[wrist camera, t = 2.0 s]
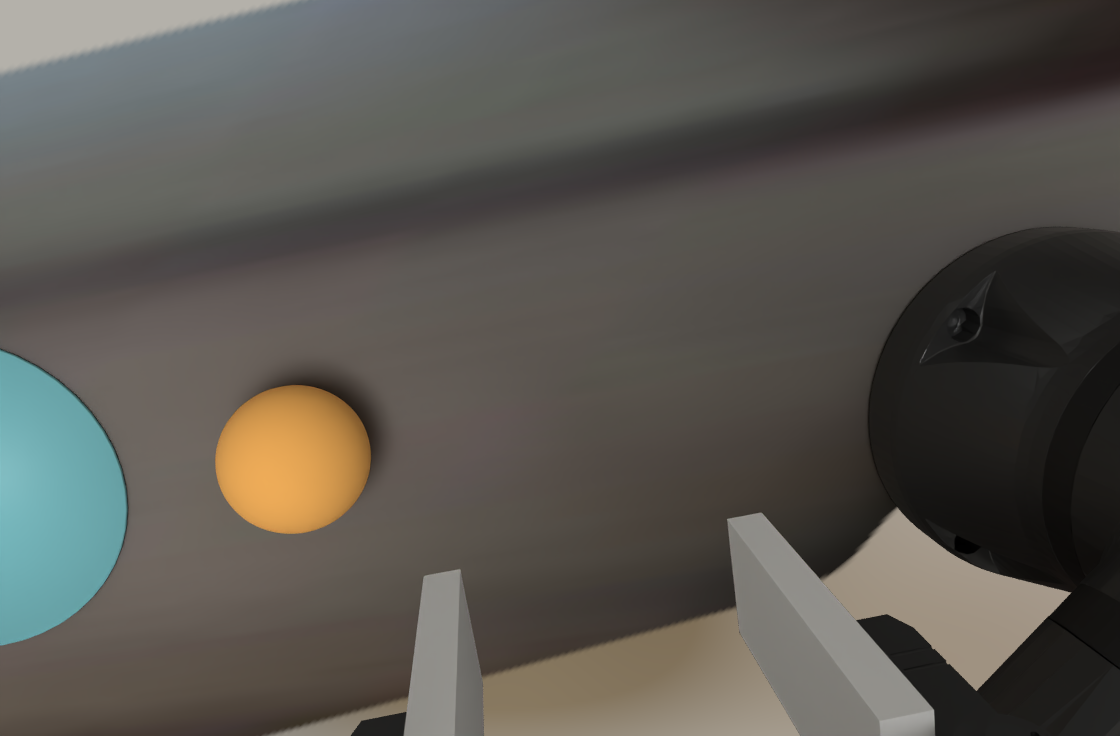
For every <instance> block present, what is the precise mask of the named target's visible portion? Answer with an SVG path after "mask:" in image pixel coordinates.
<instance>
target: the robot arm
mask: <svg viewBox="0 0 1120 736" xmlns="http://www.w3.org/2000/svg"><path fill="white" fill-rule="evenodd" d="M869 430H870V440H871V446H872V452H873V456H874V460H875V464H876V467H877V470H878V473H879V475H880V478H881V480H882V482H883V484H884V487H885V488H886V490H887V492H888V494H889V496H890V497H891V499H892V500H893V502H894V503H895V505H896V506H897V507H898V508H899V510H900V511H901V512H902V513H903V514H904V515H905V516H906V517H907V519H909V521H910V522H912V523H913V524H914V525H915V526H916V527H917V528H918V529H920V530H921V531H922V532H924V533H925V534H926V535H928V536H929V537H930V538H931V539H933V540H934V541H935V542H937V543H938V544H939V545H941V546H942V547H943V548H945V549H946V550H947V551H949V552H950V553H952V554H953V555H955V556H957V557H958V558H960V559H962V560H964V561H966V562H968V563H970V564H972V565H974V566H976V567H979V568H981V569H984V570H987V571H990V572H993V573H996V574H1000V575H1004V576H1008V577H1012V578H1016V579H1020V580H1024V581H1028V582H1032V583H1036V584H1040V585H1044V586H1047V587H1051V588H1055V589H1060V590H1064V591H1068V592H1071V594H1070V595H1069V596H1068V597H1067V598H1066V599H1065V600H1064V602H1062V603H1061V604H1060V606H1059V607H1058V608H1057V609H1056V610H1055V611H1054V612H1053V613H1052V614H1051V615H1050V616H1048V617H1047V618H1046V619H1045V620H1044V622H1042V624H1041V625H1040V626H1039V627H1038V628H1037V629H1036V630H1035V631H1034V632H1033V633H1032V634H1031V635H1030V636H1029V637H1028V638H1027V639H1026V640H1025V641H1024V642H1023V643H1022V644H1021V645H1020V646H1019V647H1018V648H1017V650H1016V651H1015V652H1014V653H1013V654H1012V655H1011V656H1010V657H1009V658H1008V659H1007V660H1006V661H1005V662H1004V663H1003V664H1002V665H1001V666H1000V667H999V668H998V669H997V670H996V671H995V672H994V674H992V676H991V677H990V678H989V679H988V680H987V681H986V682H985V683H984V684H983V685H982V686H981V687H980V688H979V689H978V690H977V691H976V690H975V689H973V687H972V686H971V685H970V684H968V682H967V681H966V680H965V679H964V678H963V677H962V676H961V675H960V674H959V673H958V672H957V671H956V670H955V669H954V668H953V667H952V666H951V665H950V664H948V665H947V663H946V660H945V659H944V658H943V657H942V656H941V655H940V654H939V653H938V652H937V651H936V650H935V649H932V647H931V645H930V644H929V643H928V642H927V641H926V640H925V639H924V638H923V637H922V636H921V635H920V634H919V633H918V632H917V631H916V630H915V629H914V628H913V627H911V626H909V625H907V624H905V623H903V622H901V621H899V620H897V619H895V618H893V617H891V616H889V615H887V614H886V615H881V616H876V617H871V618H866V619H861V620H855V619H854V618H853V617H852V615H851V614H850V613H849V612H848V611H847V610H846V609H845V607H844V606H843V605H842V604H841V603H840V602H839V601H838V599H837V598H836V597H835V596H834V595H833V594H832V593H831V591H830V590H829V589H828V588H827V587H826V586H825V585H824V583H823V582H822V581H821V580H820V579H819V578H818V576H817V575H816V574H815V573H814V572H813V571H812V570H811V568H810V567H809V566H808V565H807V564H806V563H805V562H804V560H803V559H802V558H801V557H800V556H799V555H798V554H797V552H796V551H795V550H794V549H793V548H792V547H791V546H790V544H789V543H788V542H787V541H786V540H785V539H784V538H783V536H782V535H781V534H780V533H779V532H778V531H777V530H776V528H775V527H774V526H773V525H772V524H771V523H770V522H769V520H768V519H767V518H766V517H765V516H764V515H763V514H762V513H757V514H751V515H746V516H741V517H735V518H730V519H727V523H728V532H729V541H730V550H731V560H732V569H733V578H734V587H735V597H736V606H737V615H738V624H739V633H740V634H741V636H742V638H743V639H744V641H745V643H746V644H747V646H748V648H749V650H750V651H751V653H752V655H753V656H754V658H755V660H756V661H757V663H758V665H759V666H760V668H761V670H762V671H763V673H764V675H765V676H766V678H767V680H768V682H769V683H770V685H771V687H772V688H773V690H774V692H775V693H776V695H777V697H778V698H779V700H780V702H781V704H782V705H783V707H784V708H785V710H786V712H787V714H788V715H789V717H790V719H791V720H792V722H793V724H794V726H795V727H796V729H797V731H798V732H799V734H800V736H1120V233H1119V232H1114V231H1106V230H1096V229H1083V228H1071V227H1045V228H1036V229H1029V230H1025V231H1020V232H1016V233H1013V234H1009V235H1006V236H1003V237H1000V238H998V239H995V240H992V241H990V242H988V243H986V244H984V245H981V246H980V247H978V248H976V249H974V250H972V251H970V252H969V253H967V254H965V255H964V256H962V257H961V258H959V259H958V260H956V261H955V262H953V263H952V264H951V265H949V266H948V267H947V268H945V269H944V270H943V271H942V272H941V273H940V274H938V275H937V276H936V277H935V278H934V279H933V280H932V281H931V282H930V283H929V284H928V285H927V286H926V287H925V288H924V289H923V290H922V291H921V292H920V293H919V294H918V295H917V297H916V298H915V299H914V300H913V302H912V303H911V304H910V305H909V307H908V308H907V310H906V311H905V312H904V314H903V315H902V317H901V318H900V320H899V321H898V323H897V325H896V326H895V328H894V330H893V332H892V334H891V336H890V338H889V340H888V342H887V344H886V346H885V348H884V351H883V353H882V356H881V358H880V361H879V364H878V367H877V371H876V374H875V378H874V382H873V387H872V392H871V400H870V412H869ZM483 721H484V719H483V682H482V676H481V671H480V666H479V661H478V656H477V651H476V646H475V641H474V636H473V631H472V626H471V621H470V616H469V611H468V606H467V601H466V596H465V591H464V586H463V581H462V576H461V571H460V569H458V570H453V571H448V572H442V573H437V574H432V575H426V576H424V578H423V586H422V594H421V602H420V610H419V618H418V626H417V634H416V642H415V650H414V658H413V666H412V674H411V682H410V690H409V698H408V706H407V712H404V713H399V714H394V715H389V716H384V717H379V718H374V719H369V720H364V721H361V722H360V724H359V725H358V726H357V728H356V729H355V730H354V732H353V733H352V735H351V736H484V722H483Z"/></svg>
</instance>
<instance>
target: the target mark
mask: <svg viewBox="0 0 1120 736" xmlns="http://www.w3.org/2000/svg"><path fill="white" fill-rule="evenodd" d="M127 514H128V503H127V490H126V485H125V480H124V476H123V472H122V468H121V465H120V463H119V460H118V457H117V455H116V452H115V449H114V447H113V446H112V444H111V442H110V440H109V438H108V436H107V434H106V433H105V431H104V429H103V428H102V426H101V425H100V424H99V422H98V421H97V419H96V418H95V417H94V415H93V414H92V412H91V411H90V410H89V409H88V408H87V407H86V406H85V405H84V404H83V403H82V402H81V400H80V399H79V398H78V397H77V396H76V395H75V394H74V393H73V392H71V391H70V390H69V389H68V388H67V387H65V386H64V385H63V384H62V383H61V382H60V381H58V380H57V379H56V378H54V377H53V376H51V375H50V374H48V373H47V372H45V371H44V370H42V369H41V368H39V367H38V366H36V365H34V364H32V363H30V362H28V361H26V360H24V359H22V358H20V357H19V356H17V355H14V354H11V353H9V352H6V351H4V350H1V349H0V645H6V644H10V643H14V642H18V641H22V640H25V639H28V638H30V637H33V636H36V635H38V634H41V633H43V632H45V631H47V630H49V629H51V628H53V627H55V626H57V625H59V624H60V623H62V622H63V621H65V620H66V619H68V618H69V617H70V616H72V615H73V614H75V613H76V612H77V611H79V610H80V609H81V608H82V607H83V606H84V605H85V604H86V603H87V602H88V601H89V600H90V599H91V598H92V597H93V596H94V595H95V594H96V592H97V591H98V590H99V589H100V587H101V586H102V585H103V584H104V582H105V581H106V580H107V578H108V576H109V574H110V573H111V571H112V569H113V567H114V566H115V564H116V561H117V559H118V556H119V554H120V551H121V549H122V546H123V541H124V537H125V532H126V528H127Z"/></svg>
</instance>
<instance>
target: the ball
mask: <svg viewBox="0 0 1120 736" xmlns="http://www.w3.org/2000/svg"><path fill="white" fill-rule="evenodd" d="M215 463H216V474H217V479H218V483H219V486H220V489H221V491H222V493H223V495H224V497H225V498H226V500H227V501H228V503H229V504H230V505H231V507H232V508H233V509H234V510H235V511H236V512H237V513H238V514H239V515H240V516H241V517H243V518H244V519H245V520H247V521H248V522H250V523H251V524H253V525H255V526H257V527H260V528H262V529H265V530H268V531H272V532H277V533H285V534H297V533H305V532H309V531H313V530H316V529H319V528H321V527H324V526H326V525H328V524H330V523H332V522H334V521H335V520H337V519H338V518H339V517H341V516H342V515H343V514H344V513H345V512H346V511H348V510H349V509H350V508H351V507H352V505H353V504H354V503H355V502H356V501H357V499H358V497H359V496H360V494H361V492H362V491H363V489H364V486H365V484H366V482H367V479H368V475H369V471H370V464H371V449H370V443H369V439H368V436H367V432H366V430H365V428H364V425H363V423H362V422H361V420H360V418H359V417H358V415H357V414H356V413H355V412H354V411H353V409H352V408H351V407H350V406H349V405H347V404H346V403H345V402H344V401H343V400H341V399H340V398H338V397H337V396H335V395H333V394H331V393H329V392H327V391H324V390H322V389H319V388H315V387H311V386H304V385H289V386H282V387H277V388H273V389H270V390H267V391H264V392H262V393H260V394H258V395H256V396H254V397H253V398H251V399H250V400H248V401H247V402H246V403H244V404H243V405H242V406H241V407H240V408H239V409H238V410H236V412H235V413H234V414H233V415H232V417H231V418H230V419H229V420H228V422H227V424H226V425H225V427H224V429H223V431H222V433H221V436H220V438H219V442H218V446H217V450H216V458H215Z"/></svg>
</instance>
